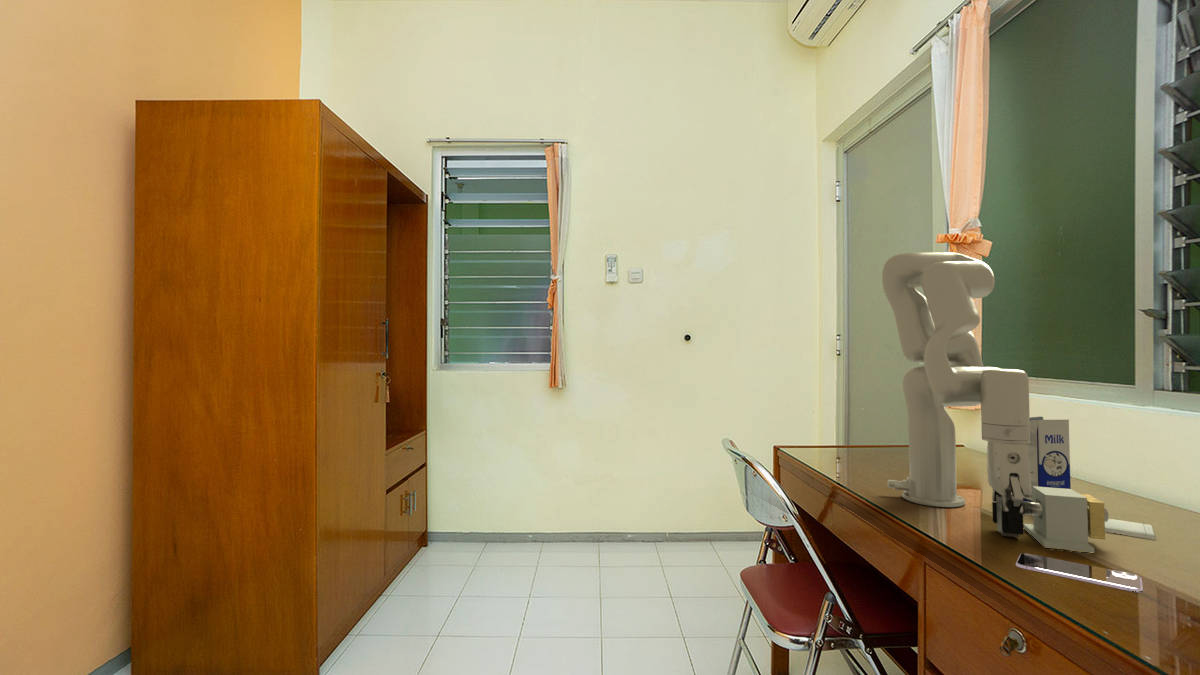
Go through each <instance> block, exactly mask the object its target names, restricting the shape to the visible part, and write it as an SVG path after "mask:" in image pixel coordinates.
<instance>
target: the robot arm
mask: <svg viewBox="0 0 1200 675" xmlns="http://www.w3.org/2000/svg"><path fill="white" fill-rule="evenodd" d="M995 280H996V279H995V275H994V272H993V270H992V269H991V267H990V265H988V264H987V263H985V262H984V261H982V260H979V259H977V258H973V257H970V256H968V255H964V254H962V253H958V252H952V251H951V252H947V251H946V252H944V251H943V252H942V251H941V252H939V251H938V252H931V251H930V252H929V251H928V252H925V251H924V252H902V253H899V254H895V255H893V256H891V257H889V258H888V259H887V260H886V262H885V263H884V265H883V269H882V274H881V281H882V282H881V283H882V287H883V291H884V294H885V297H886V299H887V301H888V303H889V305H890V307H891V310H892V312H893V315H894V318H895V323H896V328H897V332H898V338H899V341H900V346H901V350H902V353H903V356H904V357H905V359H906V360H908V361H909V362H911V363H912V362H913V363H916V364H923V366H917V367H914V368H911V369H910V370H908V371H907V372H906V373H905V374H904V376H903V379H902V390H903V395H904V398H905V404H906V410H907V419H908V420H907V421H908V422H907V423H908V424H907V425H908V427H907V428H908V430H907V431H908V461H909V462H908V466H909V468H908V469H909V476H906V479H902V480H896V479H887V488H889V489H894V490H898V491H899V490H900V491H902V490H903V491H902V493H901V495H902V498H903V499H904V500H906V501H908V502H911V503H913V504H918V505H924V506H928V507H937V508H938V507H939V508H957V507H963V506H964V505H965V504H966V500H965V498H964V497H963V496H961V495H959V494H957V493H958V491H957V452H956V450H957V448H956V446H957V445H956V444H957V443H956V441H957V440H956V426H955V424H954V421H953V420H952V417H951V416H950V415H949V414H948V412H947V411H946V409H945V408H946V407H949V408H950V407H954V408H955V407H959V408H960V407H975V406H980V415H981V416H980V419H981V420H980V421H981V440H983V441H985V442H986V441H987V447H986V450H987V452H986V461H987V462H986V463H987V464H986V466H987V467H986V468H987V482H988V485H989V487H991V488H992V497H991V498H992V500H991V501H992V502H991V505H992V508H991V509H992V514H991V515H992V522H993V523H994V524H997V510H996V494H998V495H1002V500H1003V509H1004V511H1001V514H1002V531H1003V532H1004V533H1009V534H1019V536H1022V535H1024V531H1025V530H1024V529H1023V524H1024V514H1023V506H1022V505H1023V503H1022V501H1023V496H1025V497H1027V498H1029V497H1030V496H1031V495H1032V491H1031V477H1030V465H1029V457H1028V450H1027V446H1026V444H1028V443H1030V418H1031V417H1030V384H1029V383H1030V381H1029V376H1028V373H1027V372H1026V371H1025V370H1022V369H1017V368H1001V367H995V366H994V367H993V366H984V364H983V360H982V356H981V352H980V348H979V344H978V341H977V338H976V337H975V335H974V333H973V332H972V331H974V330H975V329H976V328H977V327H978V326H980V322H981V317H980V314H979V312H978V309H977V307H976V304H975V302H974V299H982V298H985V297H986V298H987V296H988V295H990V294H991V293H992V292H993V290H994V287H995V283H996V282H995ZM919 287H920V288H922V290H923V294H922V293H921V292H919V290H917V289H916V288H919ZM1022 495H1023V496H1022ZM1007 498H1010V499H1012V500H1009V501H1007Z"/></svg>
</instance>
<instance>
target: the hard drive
mask: <svg viewBox="0 0 1200 675" xmlns="http://www.w3.org/2000/svg"><path fill="white" fill-rule="evenodd" d="M1107 532H1109V533H1108V534H1114V533H1116V535H1120V534H1122V536H1126V535H1127V536H1129V537H1133V538H1141V539H1147V540H1154V541H1155V540H1156V535H1155V532H1154V528H1153V525H1151V524H1146V523H1141V522H1133V521H1127V520H1120V519H1114V518H1113V519H1112V518H1108V521H1107V522H1105V533H1107Z"/></svg>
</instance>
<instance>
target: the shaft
mask: <svg viewBox="0 0 1200 675" xmlns="http://www.w3.org/2000/svg"><path fill="white" fill-rule="evenodd" d="M1009 500H1012V499H1010V498H1007V501H1009ZM1022 503H1023V505H1022V506H1023V515H1027V516H1033V515H1036V516H1042V503H1038V502H1026V501H1022ZM996 510H997V523H996V531H997V532H999V533H1000V535H1001V536H1002V537H1010V538H1011V537H1012V538H1019V537H1020V535H1019V534H1009V533H1004V532H1003V531H1002V514H1001V511H1004V509H1003V500H1002V495H998V494H996ZM1104 514H1105V522H1107V521H1108V519H1109V512H1108V509H1107V508H1106V507H1104Z"/></svg>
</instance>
